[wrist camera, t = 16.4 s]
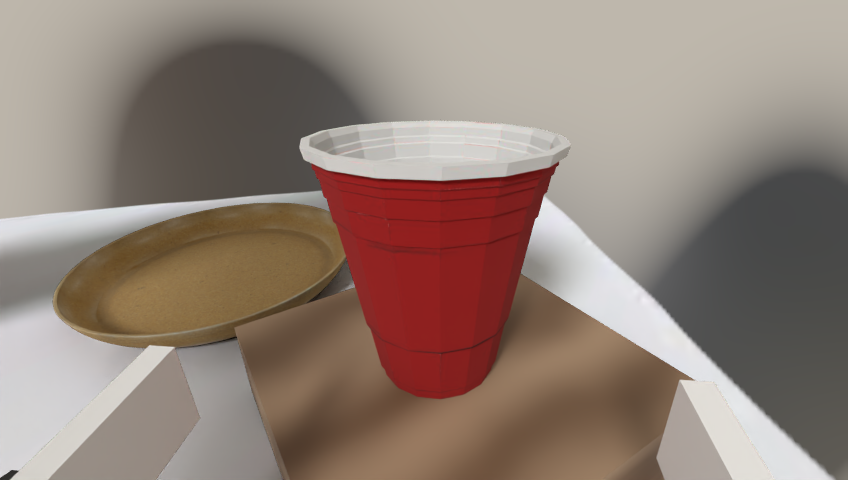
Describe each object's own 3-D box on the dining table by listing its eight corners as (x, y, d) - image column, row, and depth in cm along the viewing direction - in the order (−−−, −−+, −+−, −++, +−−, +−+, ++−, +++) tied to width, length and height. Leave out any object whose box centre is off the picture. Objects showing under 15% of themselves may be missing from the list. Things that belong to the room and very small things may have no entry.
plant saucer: (23, 303, 39) (6, 271, 37) (256, 212, 56) (250, 188, 55) (160, 429, 26) (142, 388, 25) (406, 261, 44) (404, 231, 42)
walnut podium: (251, 390, 28) (234, 327, 26) (475, 300, 36) (476, 246, 34) (372, 735, 14) (357, 663, 12) (690, 465, 23) (715, 393, 20)
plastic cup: (556, 316, 26) (581, 107, 21) (525, 477, 17) (557, 179, 12) (389, 286, 30) (374, 101, 24) (291, 405, 21) (233, 152, 15)
